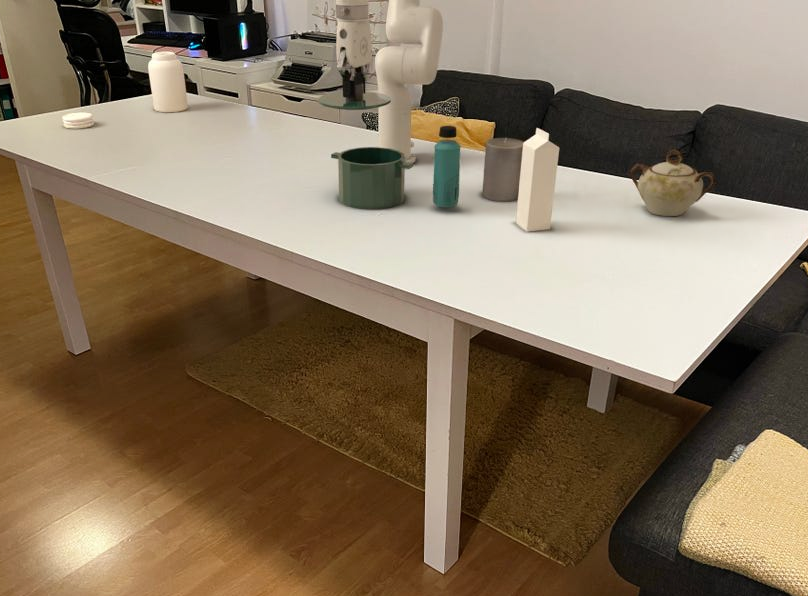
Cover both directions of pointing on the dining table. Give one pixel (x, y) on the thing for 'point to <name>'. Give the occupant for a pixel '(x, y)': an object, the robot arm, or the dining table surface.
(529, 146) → the milk
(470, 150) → the dining table surface
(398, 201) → the pot
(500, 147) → the pillar candle
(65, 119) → the white flat round stack
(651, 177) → the sugar bowl
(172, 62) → the white jar
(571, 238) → the dining table surface
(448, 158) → the beverage bottle
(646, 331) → the dining table surface
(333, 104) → the lid
